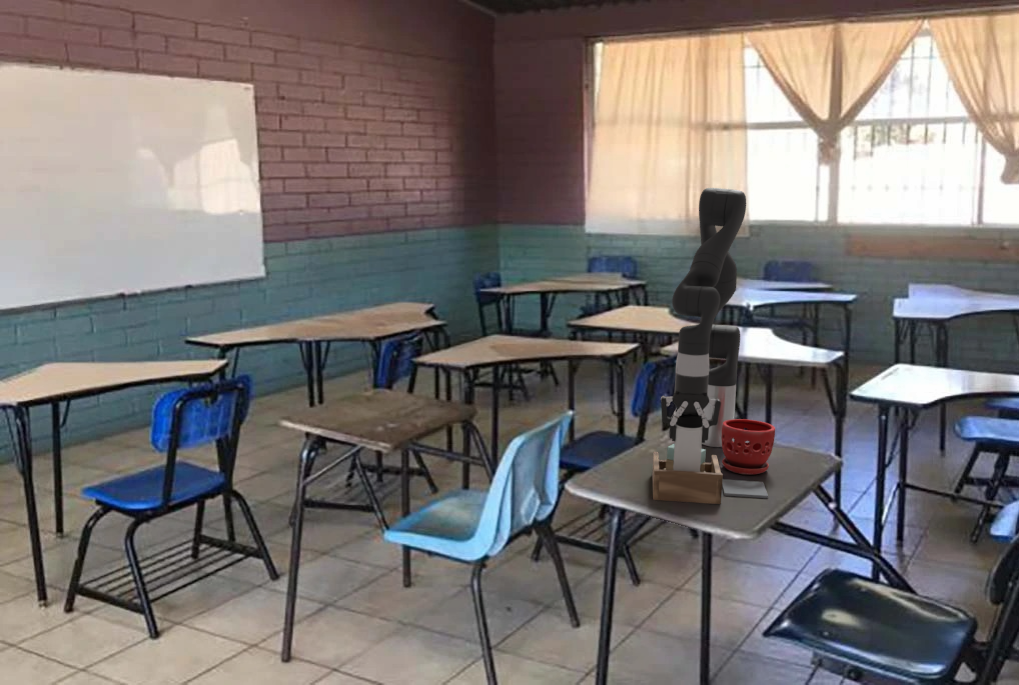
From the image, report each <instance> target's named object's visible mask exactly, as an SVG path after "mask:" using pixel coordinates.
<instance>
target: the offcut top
mask: <svg viewBox="0 0 1019 685" xmlns="http://www.w3.org/2000/svg"><path fill="white" fill-rule="evenodd" d="M674 446H675V443H672V444H671V445H669V446H667V450H666V459H670V460H674ZM706 452H707V449H706V448H705V449H704V448H701V464H702V463H704V462H705V463H706V455H707V454H706ZM701 464H700V465H701Z"/></svg>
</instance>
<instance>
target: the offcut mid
mask: <svg viewBox="0 0 1019 685" xmlns="http://www.w3.org/2000/svg"><path fill="white" fill-rule="evenodd" d="M665 460H666V470H673V463H674V460H670V459H667V458H666V459H665ZM705 463H706V461H705V462H704V463H702V464H701V465H700V472H705Z"/></svg>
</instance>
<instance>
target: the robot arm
mask: <svg viewBox="0 0 1019 685" xmlns="http://www.w3.org/2000/svg"><path fill="white" fill-rule="evenodd" d="M698 204H699V205H698V217H699V218H698V221H699V234H700V242H701V243H700V246H699V247H698V249H697V250H696V251H695V253H694V256H693V259H692V262H691V265H690V268H689V271H688V272H687V273H686V275H685V276H684V278H683V279H682V280H681V282H679V284H678V285H677V287H676V288H675V290H674V293H673V296H672V299H671V301H672V302H671V304H672V308H673V310H674V312H675V313H676V314H677V315H680V316H685V317H686V316H687V317H696V318H700V323H698V324H692V325H686V326H682V327H681V328H680V329H679V332H678V342H677V343H678V346H677V356H676V361H675V362H676V363H675V377H674V378H675V382H674V392H673V395H672V396H665V395H662V396H660V405H661V406H660V407H661V420H662V423H664V424H667V425H669V432H668V433H669V434H668V436H669V439H671V441H672V442H675V435H676V422H677V418H679V416H681V415H682V414H683V415H688V414H692V415H697V414H698V415H699V416H702V420H703V421H702V423H703V432H702V445H704V446H707V447H711V448H722V440H721V436H722V424H723V422H724V421H726V420H732V419H735V411H736V410H735V409H736V392H737V379H738V378H737V377H738V374H737V373H738V362H739V354H740V346H741V331H740V328H739V327H738V326H736V325H726V324H723V325H722V324H714V322H715V318H716V317H717V316H718V313H720V311H721V310H722V309H723V308H724V307H725V306H726V304H728V302H729V301H730V300H731V299H732V298H733V296H734V294H735V293H736V289H737V279H738V278H737V275H738V271H737V270H738V269H737V265H736V262H735V260H734V258H733V257H732V254H730V252H729V250H730V248H731V246H732V245H733V243H734V241H735V239H736V237H737V235H738V234H739V233H738V232H740V229H741V226H742V224H743V223H744V222H743V221H744V219H745V215H746V210H747V196H746V193H745V192H744V191H743V190H740V189H739V190H738V189H730V188H717V187H706V188H704V189H703V191H702V192H701V193H700V197H699V202H698ZM716 227H721V228H720V229H719V231H717V228H716ZM710 359H719V360H720V359H721V360H726V361H725V362H724V363H723V364H721V365H718V366H717V367H713V368H710ZM671 402H672V403H673V404H674V405H675V407H676V408H675V410H674V412H673V414H672V416H671V417H670V416H668V408H667V407H669V406H670V405H671ZM733 440H734V439H732V441H733ZM733 442H734V441H733Z"/></svg>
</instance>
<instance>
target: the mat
mask: <svg viewBox="0 0 1019 685" xmlns="http://www.w3.org/2000/svg"><path fill="white" fill-rule="evenodd" d="M722 492H723V495H724V496H727V497H740V498H741V497H742V498H757V499H769V495H768V491H767V488H766V486H765V484H764V481H756V480H755V481H754V480H742V479H741V480H739V479H724V478H723V479H722Z"/></svg>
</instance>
